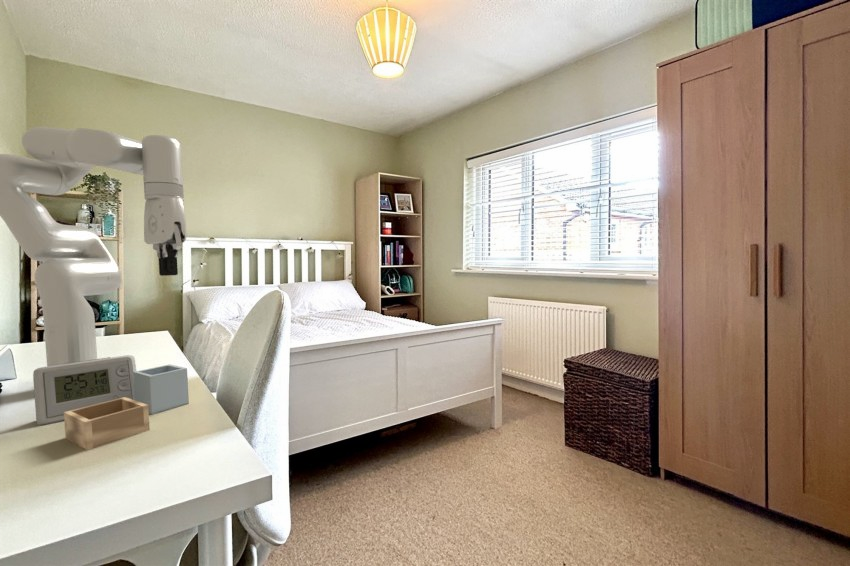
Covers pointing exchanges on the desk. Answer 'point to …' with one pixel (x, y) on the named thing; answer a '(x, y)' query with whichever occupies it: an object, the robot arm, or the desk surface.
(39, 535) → the desk surface
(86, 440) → the oak box
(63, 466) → the desk surface
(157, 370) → the light blue pen cup
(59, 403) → the digital clock
